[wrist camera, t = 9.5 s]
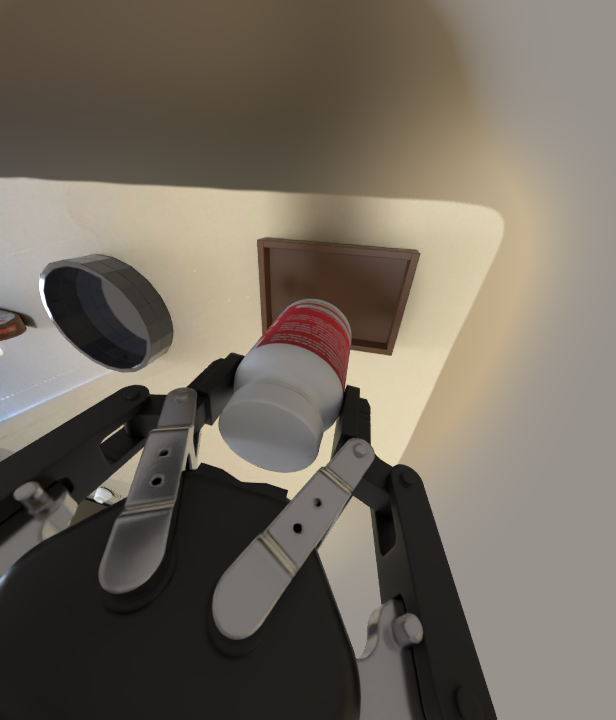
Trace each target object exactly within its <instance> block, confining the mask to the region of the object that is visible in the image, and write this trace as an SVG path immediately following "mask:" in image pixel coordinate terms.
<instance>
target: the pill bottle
mask: <svg viewBox="0 0 616 720" xmlns="http://www.w3.org/2000/svg"><path fill="white" fill-rule="evenodd" d="M350 348H351V329H350V325H349V323H348V321H347V319H346V317H345V316H344V314H343V313H342V312H341V311H340V310H339V309H338V308H337V307H335V306H334V305H332V304H330V303H328V302H326V301H323V300H319V299H304V300H300V301H297V302H295V303H293V304H291V305H290V306H288V307H287V308H286V309H285V310H284V311H283V312H282V313H281V314H280V316H279V317H278V318H277V319H276V320H275V321H274V323H273V324H272V325H271V326H270V327H269V328H268V330H267V331H266V332H265V333H264V334H263V336H262V337H261V338H260V339H259V340H258V342H257V343H256V344H255V345H254V346H253V348H252V349H251V350H250V351H249V352H248V353H247V355H246V356H245V357H244V358H243V360H242V361H241V363H240V364H239V366H238V368H237V370H236V373H235V377H234V394H233V395H232V397H231V398H230V400H229V401H228V403H227V405H226V406H225V408H224V409H223V411H222V412H221V414H220V417H219V423H218V424H219V431H220V433H221V436H222V438H223V440H224V441H225V443H226V444H227V445H228V446H229V447H230V448H231V450H233V451H234V452H235V453H236V454H237V455H238V456H240V457H241V458H243V459H244V460H246V461H247V462H249V463H251V464H253V465H255V466H257V467H260V468H263V469H266V470H270V471H274V472H284V473H287V472H296V471H300V470H302V469H305V468H307V467H308V466H310V465H311V464H312V463H313V462H314V460H315V459H316V457H317V455H318V452H319V447H320V443H321V440H322V437H323V432H325V431H326V430H328V429H329V428H330V427H331V426H332V425H333V424H334V422H335V421H336V419H337V418H338V416H339V413H340V411H341V408H342V403H343V398H344V391H345V383H346V375H347V368H348V361H349V354H350Z"/></svg>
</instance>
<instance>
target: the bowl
mask: <svg viewBox="0 0 616 720" xmlns="http://www.w3.org/2000/svg"><path fill="white" fill-rule="evenodd" d="M39 290H40V294H41V298H42V303H43V305H44V307H45V309H46V311H47V313H48V315H49V317H50V319H51V321H52V322H53V323H54V325H55V326H56V327H57V329H58V330H59V331H60V333H61V334H62V335H63V336H64V337H65V338H66V339H67V340H68V341H69V342H70V343H71V344H72V345H73V346H74V347H75V348H76V349H77V350H78V351H79V352H81V353H82V354H84V355H85V356H86V357H88V358H89V359H91V360H92V361H93V362H95V363H97V364H100V365H102V366H104V367H106V368H108V369H111V370H115V371H119V372H136V371H138V370H140V369H142V368H144V367H146V366H147V365H149V364H150V363H151V362H153V361H154V360H156V359H157V358H159V357H160V356H162V355H163V354H164V353H165V352H166V351H167V350H168V348H169V347H170V345H171V342H172V338H173V328H172V322H171V318H170V315H169V312H168V310H167V308H166V306H165V304H164V302H163V300H162V299H161V297H160V296H159V294H158V293H157V291H156V290H155V289H154V288H153V286H152V285H151V284H150V283H149V282H148V281H147V280H146V279H145V278H144V277H143V276H142V275H141V274H139V273H138V272H137V271H136V270H134V269H133V268H132V267H130V266H128V265H127V264H125V263H123V262H121V261H119V260H117V259H114V258H111V257H107V256H101V255H91V256H85V257H79V258H73V259H66V260H61V261H57V262H53V263H49V264H48V265H47V266H46V268H45V269H44V270H43V271H42V272H41V274H40V281H39Z"/></svg>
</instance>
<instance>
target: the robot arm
mask: <svg viewBox="0 0 616 720" xmlns="http://www.w3.org/2000/svg"><path fill="white" fill-rule="evenodd" d="M243 358H244V356H243V355H239V354H236V353H230V354H229V355H228V356H227V357H226V358H225V359H222V358H220V359H218V360H216V361H213V362H212V363H211V364H210V365H209V366H208V367H207V368H206V369H205V370H204V371H203V373H201V374H200V375H199V376H198V377H197V378H196V379H195V380H194V381H193V382H191V383H190V384H189V385H188V386H187V387H186V388H178V389H175V390H173V391H171V392H169V393H168V394H167V395H154V394H150V393H149V390H148V388H147V387H145V386H142V385H131V386H127V387H124V388H122V389H120V390H119V391H117V392H115V393H114V394H112V395H110V396H109V397H107V398H105V399H104V400H102V401H100V402H99V403H97V404H95V405H94V406H92V407H90V408H89V409H87V410H86V411H84V412H82V413H81V414H79V415H77V416H76V417H74V418H72V419H71V420H69V421H67V422H66V423H64V424H62V425H61V426H59V427H57V428H56V429H54V430H52V431H51V432H49V433H47V434H46V435H44V436H43V437H41V438H39V439H38V440H36V441H34V442H33V443H31V444H29V445H28V446H26V447H24V448H23V449H21V450H19V451H18V452H16V453H14V454H13V455H11V456H9V457H8V458H6V459H4V460H3V461H1V462H0V720H497V717H496V713H495V710H494V707H493V704H492V701H491V697H490V694H489V691H488V688H487V685H486V681H485V678H484V675H483V672H482V669H481V666H480V662H479V659H478V656H477V653H476V650H475V646H474V643H473V640H472V637H471V634H470V631H469V628H468V624H467V621H466V618H465V615H464V612H463V609H462V605H461V602H460V599H459V596H458V593H457V589H456V586H455V583H454V580H453V577H452V574H451V570H450V567H449V564H448V561H447V558H446V555H445V552H444V548H443V545H442V542H441V539H440V536H439V532H438V529H437V526H436V523H435V520H434V517H433V513H432V510H431V507H430V504H429V501H428V497H427V494H426V491H425V488H424V485H423V482H422V480H421V478H420V476H419V475H418V474H417V473H416V472H415V471H414V470H413V469H412V468H410V467H408V466H406V465H402V464H398V465H395V466H394V467H392V466H390V465H389V464H387V463H385V462H384V461H382V460H381V459H380V458H378V457H377V456H376V454H375V453H374V450H373V448H372V446H371V424H370V405H369V403H368V401H367V399H363V398H360V388H357V387H353V386H350V385H347V386H346V389H345V392H344V398H343V403H342V408H341V411H340V413H339V416H338V418H337V421H336V428H335V434H334V441H333V447H332V453H331V460H330V462H329V463H328V464H327V465H326V466H325V467H321V468H320V469H319V470H318V471H317V472H316V473H315V474H314V475H313V477H312V478H311V479H310V480H309V481H308V482H307V483H306V484H305V486H304V487H303V488H302V489H301V490H300V491H299V492H298V493H297V495H296V496H295V497H294V498H293V499H292V500H290V499H288V498H287V493H288V490H286V489H282V488H279V487H276V486H273V485H270V484H267V483H249V482H241V481H239V480H237V479H236V478H235V477H233V476H232V475H230V474H229V473H227V472H226V471H224V470H223V469H220V468H217V467H214V466H211V465H208V464H205V463H202V462H201V464H200V465H199V467H198V468H197V463H198V454H199V446H200V438H201V428H202V427H203V425H204V424H208V425H211V426H212V425H213V424H214V422H215V421H216V419H217V418H218V417H219V415H220V414H221V412H222V411H223V409H224V408H225V406H226V405H227V403H228V401H229V400H230V398H231V397H232V395H233V394H234V377H235V373H236V370H237V368H238V366H239V364H240V363H241V361H242V360H243ZM122 425H124V427H123V428H122V429H120V430H119V431H118V432H116V433H115V434H114V435H112V436H111V437H110V438H108V439H107V440H106V441H104V442H103V443H102V444H101V442H102V441H103V439H104V438H105V437H107V436H108V435H109V434H111V433H112V432H113V431H115V430H116V429H118V428H119V427H120V426H122ZM143 447H144V449H143V452H142V455H141V458H140V461H139V464H138V467H137V470H136V473H135V476H134V479H133V482H132V485H131V488H130V491H129V494H128V497H126V498H124V499H122V500H120V501H118V502H117V503H115V504H113V505H111V506H109V507H107V508H105V509H103V510H101V511H99V512H97V513H95V514H93V515H91V516H89V517H88V518H86V519H84V520H82V521H80V522H78V523H76V524H74V525H72V526H70V527H69V525H70V522H71V519H72V517H73V516H74V514H75V512H76V510H77V505H78V504H80V502H82V501H83V500H84V499H85V498H86V497H87V496H89V495H90V494H91V493H92V492H93V491H94V490H95V489H97V488H98V487H99V486H100V485H101V484H102V483H103V482H104V481H106V480H107V479H108V478H109V477H110V476H111V475H112V474H114V473H115V472H116V471H117V470H118V469H119V468H120V467H122V466H123V465H124V464H125V463H126V462H127V461H128V460H129V459H131V458H132V457H133V456H134V455H135V454H136V453H137V452H139V451H140V450H141V449H142V448H143ZM352 496H354V497H356V498H358V499H359V500H360V501H362V502H363V503H364V504H366V505H367V506H369V507H370V510H371V517H372V527H373V536H374V544H375V553H376V562H377V570H378V579H379V587H380V596H381V606H380V607H378V608H377V609H375V610H374V611H373V612H372V614H371V615H370V618H369V621H368V627H367V643H366V647H365V649H364V652H363V654H362V655H361V657H360V658H359V659H356V657H355V653H354V650H353V647H352V644H351V642H350V639H349V637H348V634H347V631H346V628H345V626H344V623H343V620H342V617H341V614H340V612H339V609H338V606H337V603H336V601H335V598H334V595H333V593H332V590H331V587H330V585H329V582H328V579H327V576H326V573H325V571H324V568H323V565H322V562H321V560H320V557H319V554H318V549H319V547H320V546H321V545H322V543H323V541H324V540H325V538H326V537H327V535H328V534H329V532H330V531H331V529H332V527H333V526H334V524H335V522H336V521H337V519H338V518H339V516H340V515H341V513H342V512H343V510H344V509H345V507H346V506H347V504H348V503H349V501H350V500H351V498H352Z"/></svg>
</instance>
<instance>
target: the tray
mask: <svg viewBox="0 0 616 720" xmlns="http://www.w3.org/2000/svg"><path fill="white" fill-rule="evenodd" d="M257 248H258V265H259V283H260V300H261V317H262V335H263V334H264V333H265V332H266V331H267V330H268V328H269V327H270V326H271V325H272V324H273V323H274V321H275V320H276V319H277V318H278V317H279V316H280V314H281V313H282V312H283V311H284V310H285V309H286V308H287V307H288V306H290V305H291V304H293V303H295V302H297V301H300V300H304V299H319V300H323V301H326V302H328V303H330V304H332V305H334V306H335V307H337V308H338V309H339V310H340V311H341V312H342V313H343V314H344V316H345V317H346V319H347V321H348V323H349V325H350V329H351V348H350V350H357V351H363V352H370V353H377V354H383V355H385V354H386V355H390V356H391V355H392V352H393V349H394V345H395V341H396V338H397V334H398V331H399V327H400V324H401V320H402V317H403V313H404V310H405V306H406V303H407V299H408V296H409V292H410V288H411V285H412V281H413V278H414V274H415V271H416V267H417V264H418V260H419V257H420V253H419V252H418V251H417V250H408V249H396V248H384V247H372V246H360V245H348V244H336V243H324V242H312V241H300V240H288V239H275V238H262V239H258V240H257Z"/></svg>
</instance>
